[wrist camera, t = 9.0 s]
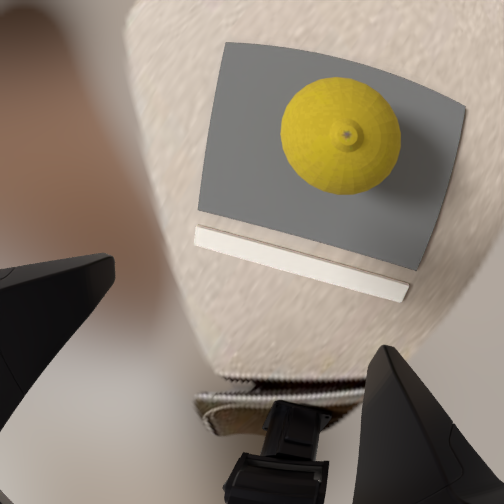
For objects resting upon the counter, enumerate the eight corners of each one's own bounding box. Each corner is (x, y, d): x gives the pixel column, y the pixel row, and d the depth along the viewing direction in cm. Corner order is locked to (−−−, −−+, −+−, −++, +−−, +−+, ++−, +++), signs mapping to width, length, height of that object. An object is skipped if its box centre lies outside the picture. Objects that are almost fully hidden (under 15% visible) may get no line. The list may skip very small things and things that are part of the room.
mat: (414, 268, 17) (416, 270, 17) (199, 208, 20) (197, 210, 19) (462, 106, 12) (465, 106, 12) (227, 43, 15) (225, 42, 14)
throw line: (399, 300, 19) (401, 302, 18) (196, 243, 21) (194, 244, 21) (408, 283, 18) (409, 286, 18) (198, 224, 20) (195, 226, 20)
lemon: (366, 84, 13) (398, 47, 6) (389, 171, 15) (436, 201, 8) (279, 103, 15) (243, 80, 8) (304, 188, 17) (288, 229, 10)
